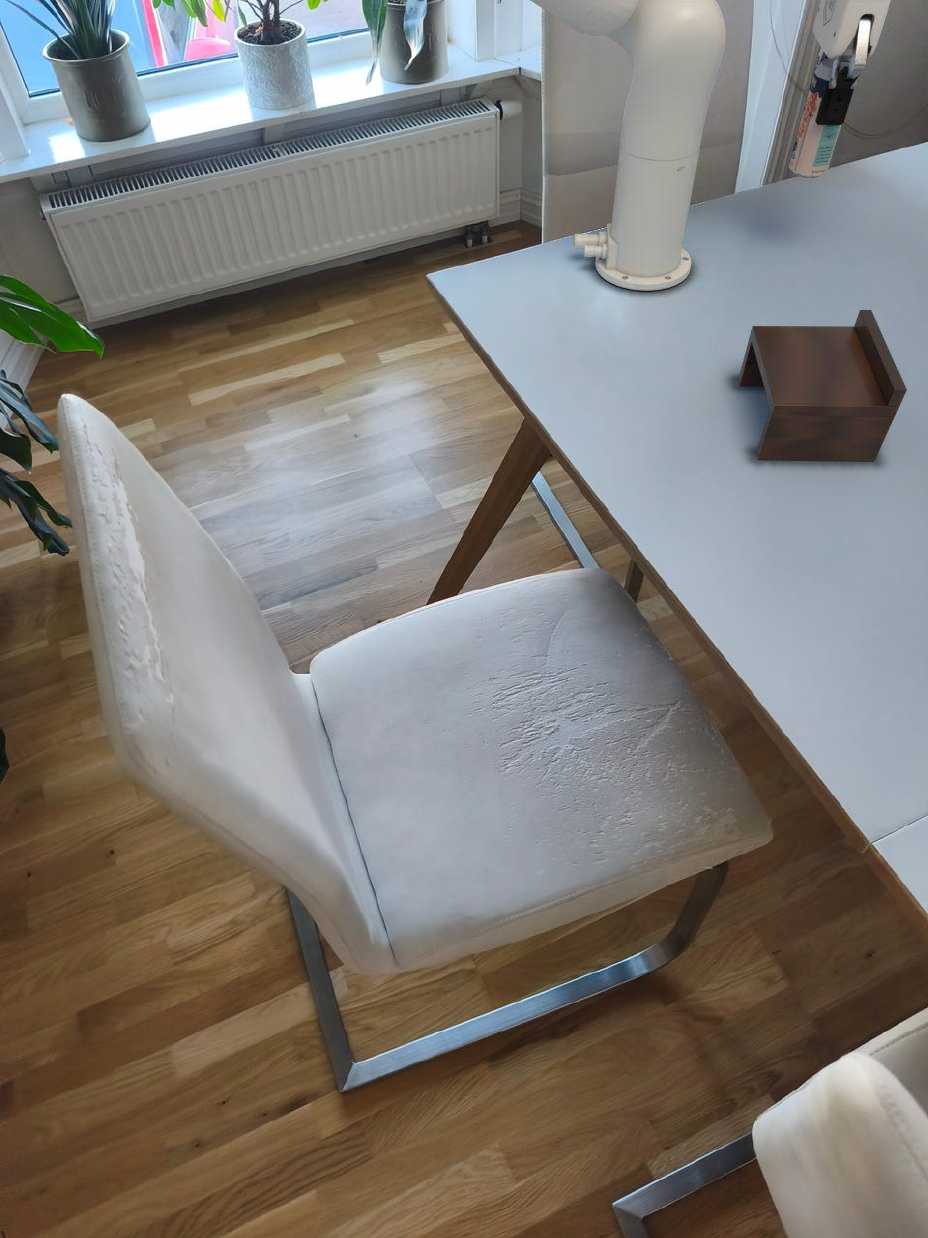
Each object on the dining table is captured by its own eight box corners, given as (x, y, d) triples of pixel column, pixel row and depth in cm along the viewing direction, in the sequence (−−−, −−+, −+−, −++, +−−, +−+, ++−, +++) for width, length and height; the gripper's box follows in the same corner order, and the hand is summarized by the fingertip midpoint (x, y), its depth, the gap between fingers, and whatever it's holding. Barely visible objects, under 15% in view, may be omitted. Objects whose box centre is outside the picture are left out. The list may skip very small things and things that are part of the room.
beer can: (797, 159, 109) (827, 52, 100) (832, 170, 107) (867, 61, 98) (780, 173, 107) (810, 64, 98) (816, 183, 105) (849, 74, 96)
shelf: (757, 460, 89) (780, 388, 82) (737, 379, 98) (756, 308, 91) (874, 461, 89) (907, 389, 82) (844, 380, 97) (871, 309, 90)
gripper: (825, -98, 93) (779, 87, 108) (862, -55, 83) (806, 144, 97) (894, -98, 93) (839, 87, 107) (941, -55, 82) (873, 145, 97)
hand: (824, 112), depth 102 cm, fingers closed on beer can, 4 cm apart
